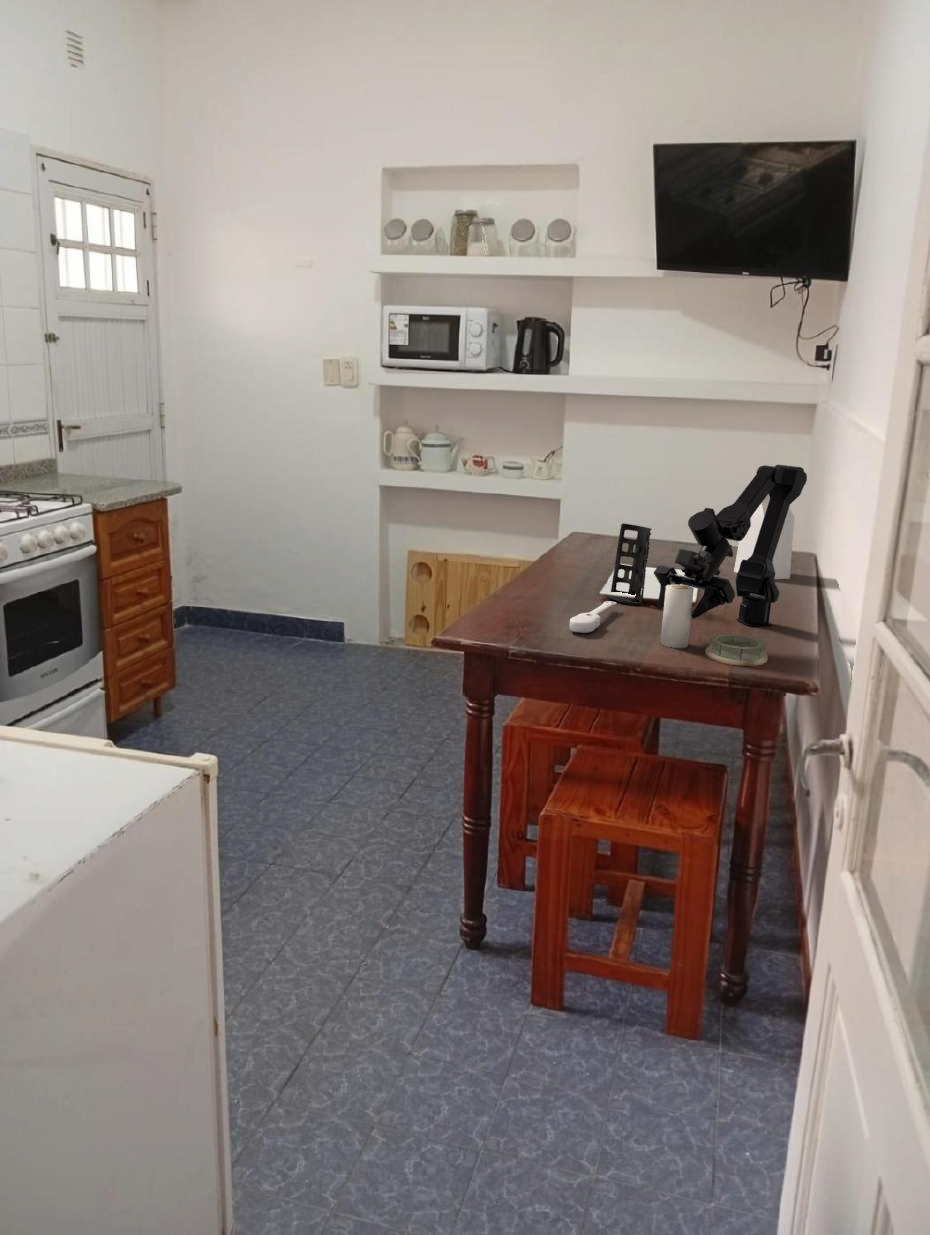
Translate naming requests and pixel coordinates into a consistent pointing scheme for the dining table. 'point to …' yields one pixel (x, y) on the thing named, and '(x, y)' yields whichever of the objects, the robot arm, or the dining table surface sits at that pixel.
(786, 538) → the milk
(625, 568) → the holder
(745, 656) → the stand
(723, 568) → the dining table surface
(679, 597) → the paper roll
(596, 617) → the white long handled piece
